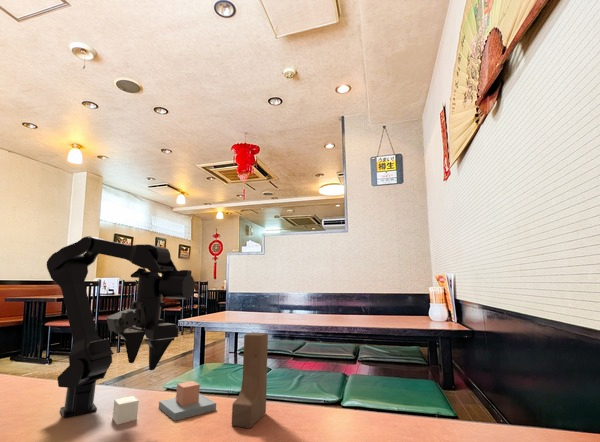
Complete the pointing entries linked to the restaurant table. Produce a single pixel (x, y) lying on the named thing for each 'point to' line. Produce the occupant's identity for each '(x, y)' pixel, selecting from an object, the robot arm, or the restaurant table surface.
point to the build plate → (186, 408)
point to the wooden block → (252, 382)
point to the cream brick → (125, 409)
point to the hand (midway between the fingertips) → (141, 366)
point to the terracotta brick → (187, 393)
